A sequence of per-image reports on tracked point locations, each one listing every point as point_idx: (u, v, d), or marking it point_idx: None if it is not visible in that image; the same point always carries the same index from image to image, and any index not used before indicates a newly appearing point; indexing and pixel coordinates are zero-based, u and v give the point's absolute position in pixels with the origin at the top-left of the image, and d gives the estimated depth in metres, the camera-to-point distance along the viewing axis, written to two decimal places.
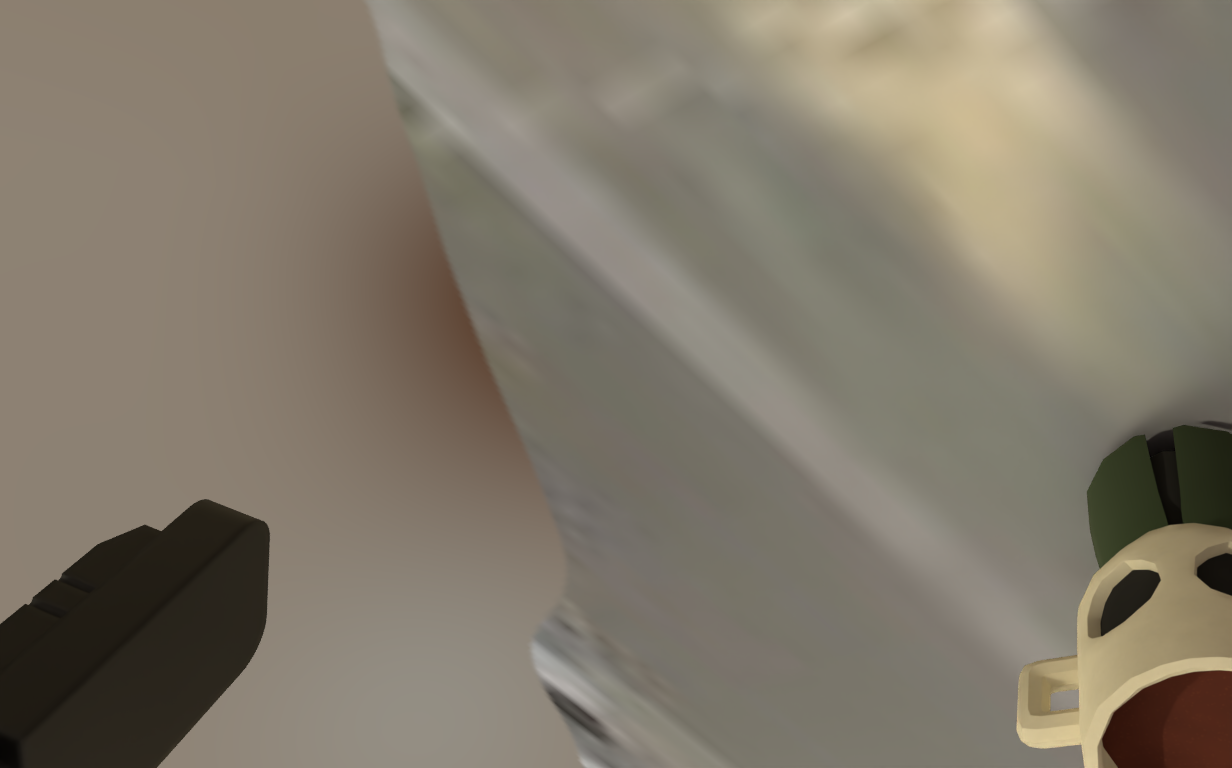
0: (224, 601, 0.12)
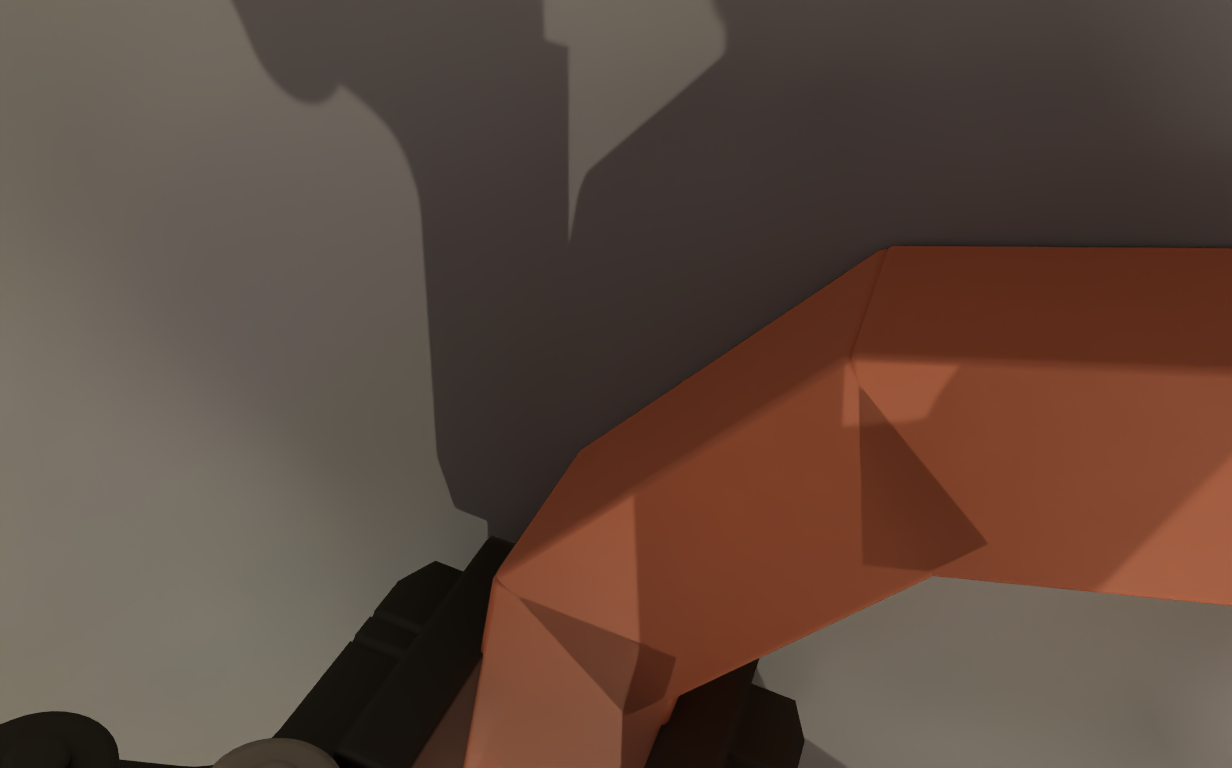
0: None
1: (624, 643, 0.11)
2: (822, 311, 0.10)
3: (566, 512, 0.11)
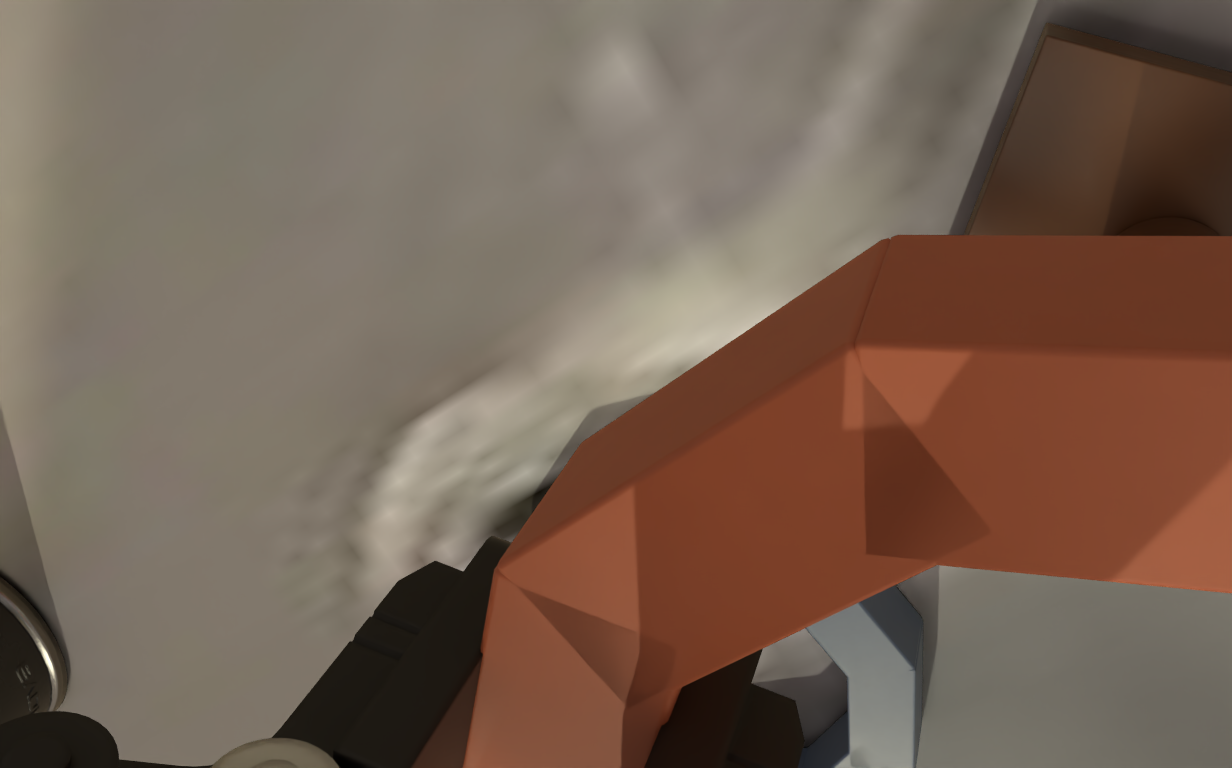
0: None
1: (626, 634, 0.11)
2: (825, 300, 0.10)
3: (568, 503, 0.11)
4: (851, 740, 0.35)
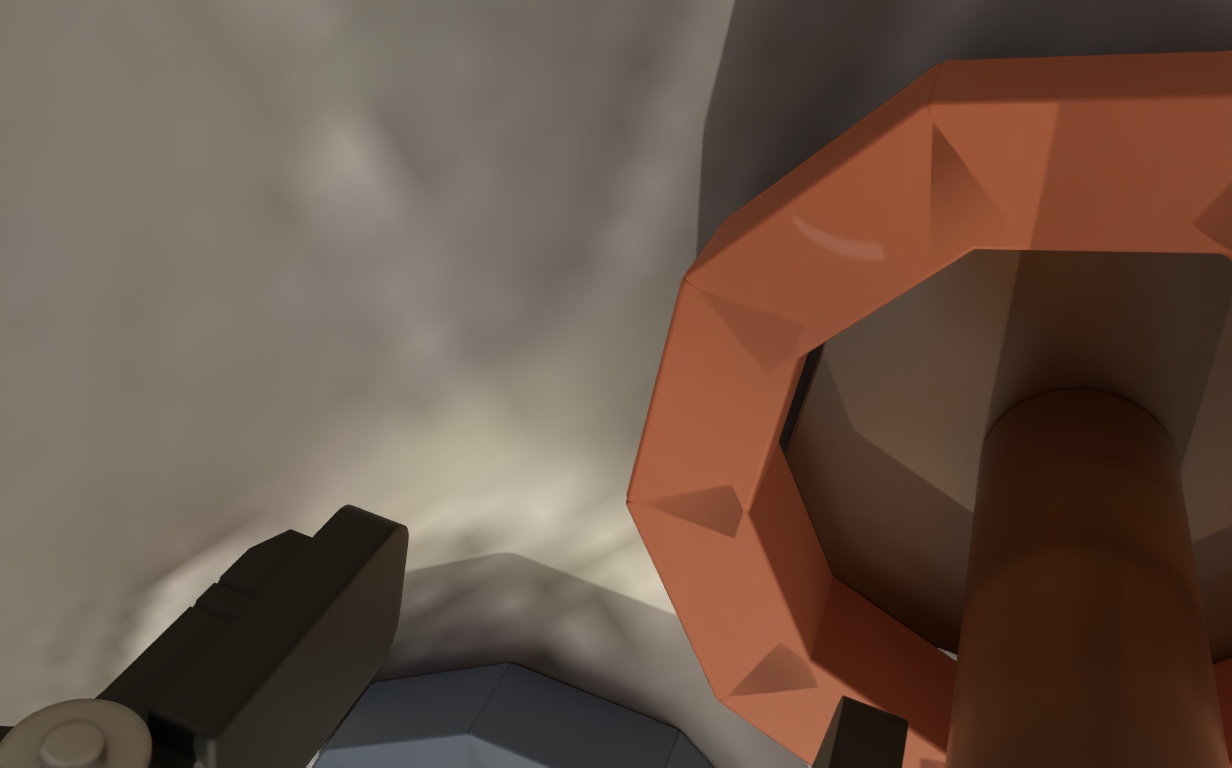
0: (370, 603, 0.13)
1: (769, 318, 0.17)
2: (902, 98, 0.16)
3: (731, 234, 0.17)
4: None
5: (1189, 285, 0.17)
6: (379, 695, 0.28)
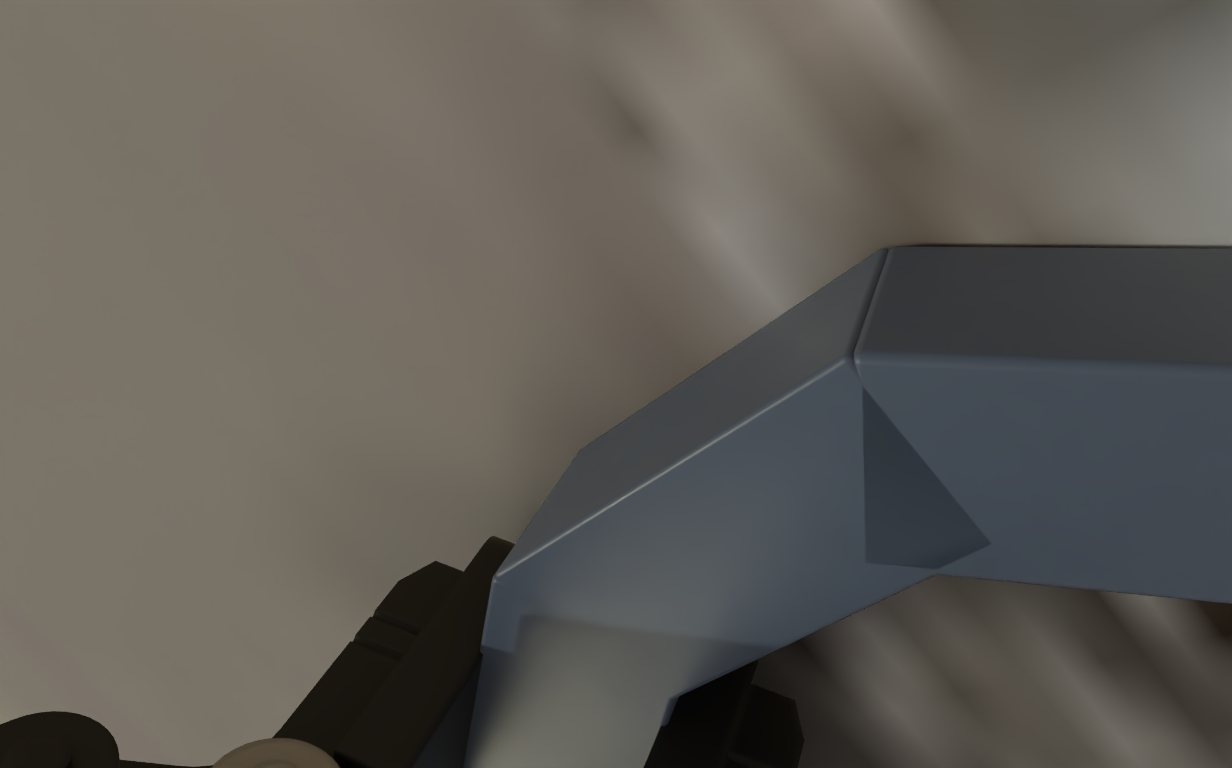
0: None
1: None
2: None
3: None
4: None
5: None
6: None
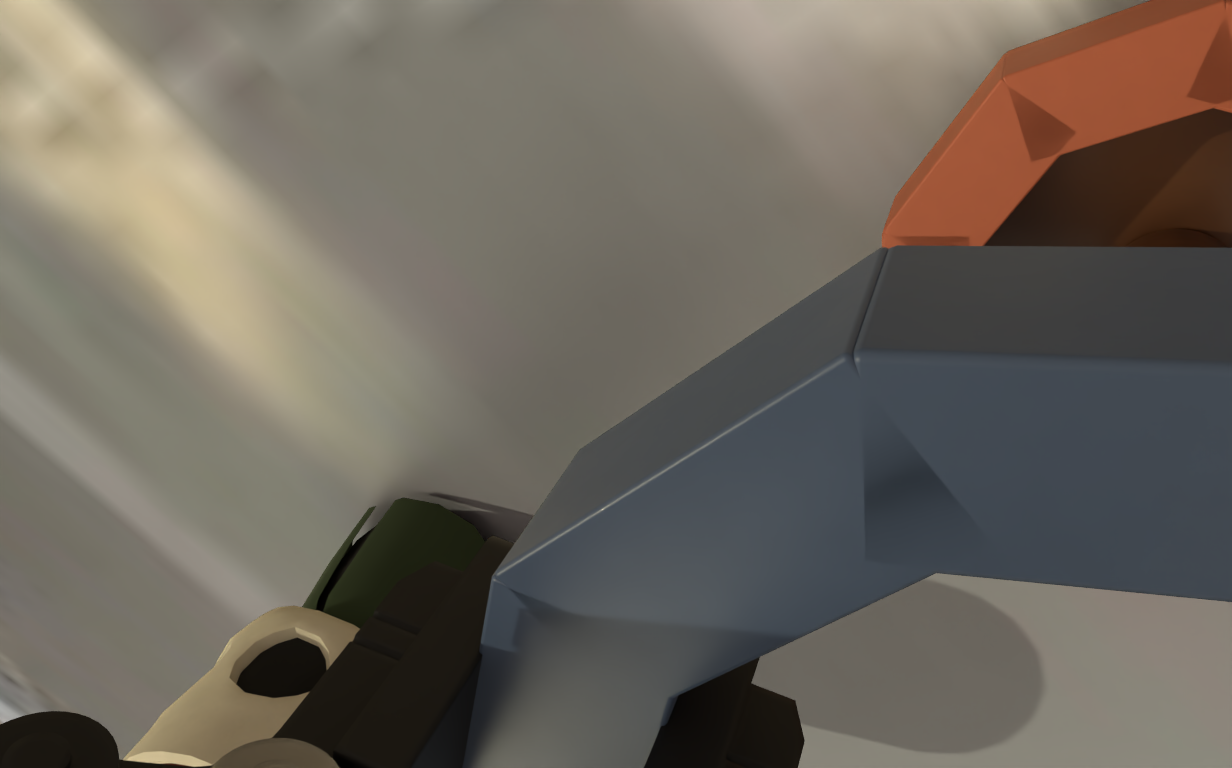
0: None
1: None
2: None
3: None
4: None
5: None
6: None
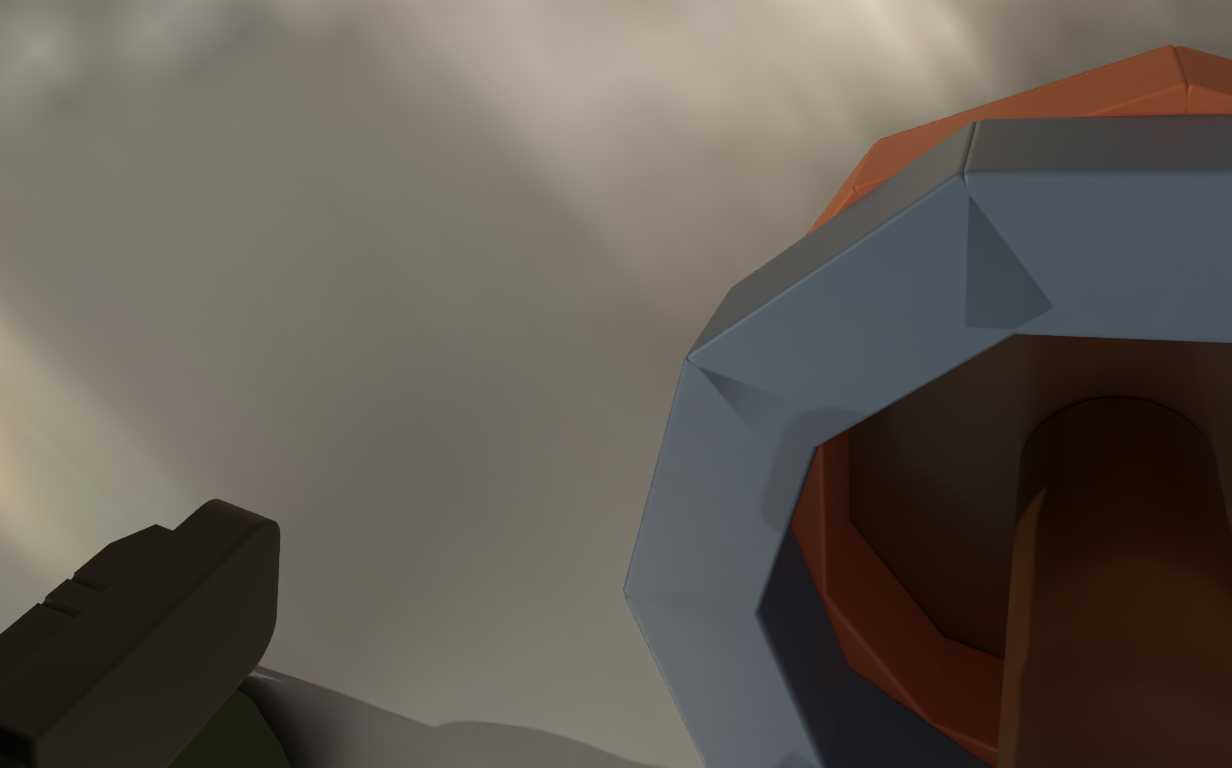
0: (234, 600, 0.12)
1: None
2: None
3: None
4: None
5: None
6: None
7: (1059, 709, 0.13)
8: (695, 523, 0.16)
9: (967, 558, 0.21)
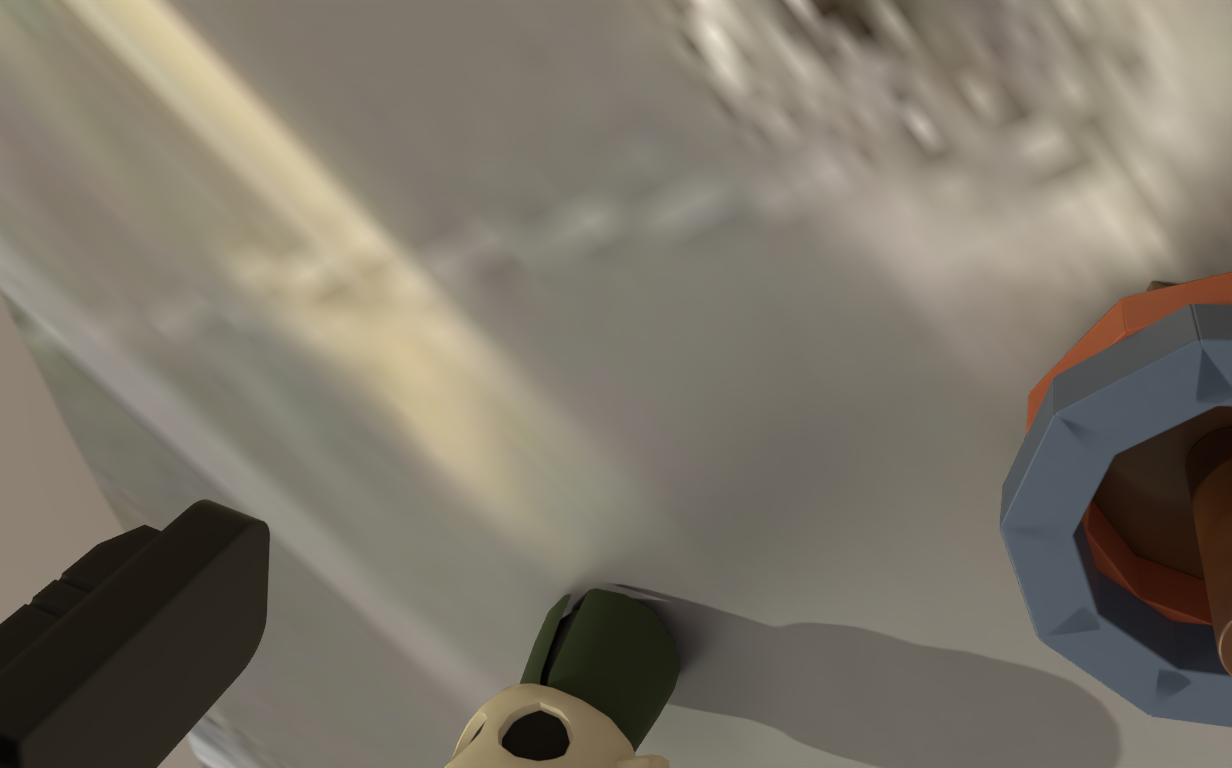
0: (222, 602, 0.12)
1: None
2: None
3: None
4: (1196, 674, 0.35)
5: None
6: None
7: None
8: (1046, 491, 0.34)
9: (1152, 512, 0.38)
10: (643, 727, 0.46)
